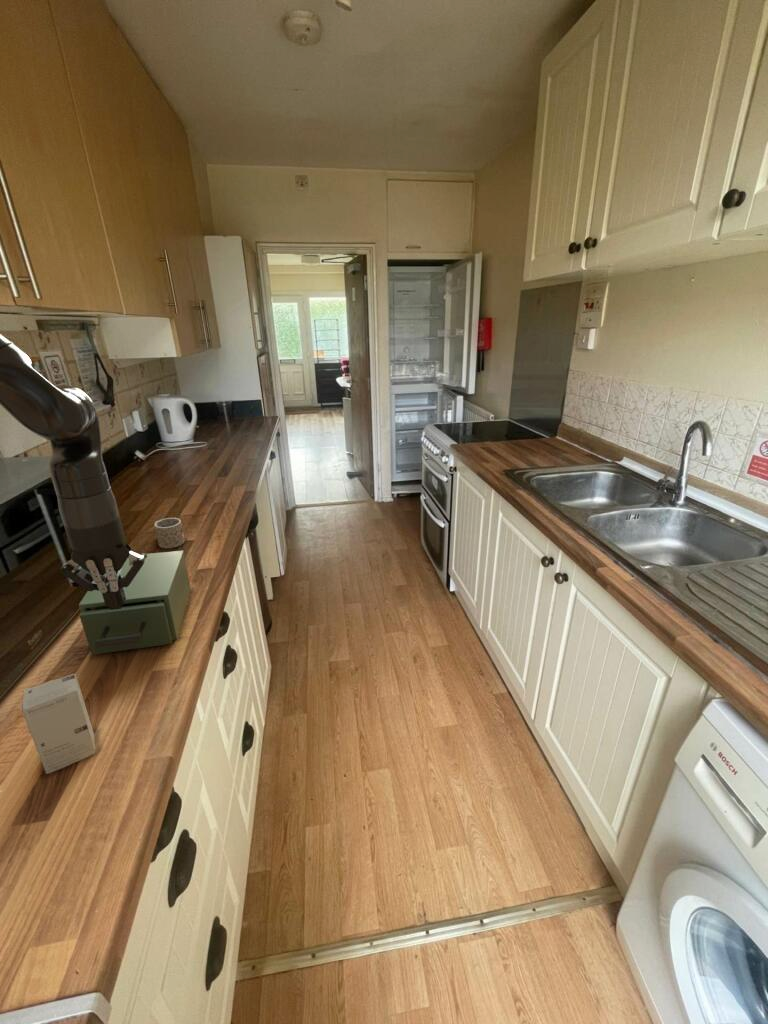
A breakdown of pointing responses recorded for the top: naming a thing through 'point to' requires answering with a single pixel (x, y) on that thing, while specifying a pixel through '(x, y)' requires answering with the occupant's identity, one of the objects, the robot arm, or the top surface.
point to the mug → (169, 532)
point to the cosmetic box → (58, 722)
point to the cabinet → (154, 586)
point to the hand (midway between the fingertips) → (117, 606)
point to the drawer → (126, 627)
